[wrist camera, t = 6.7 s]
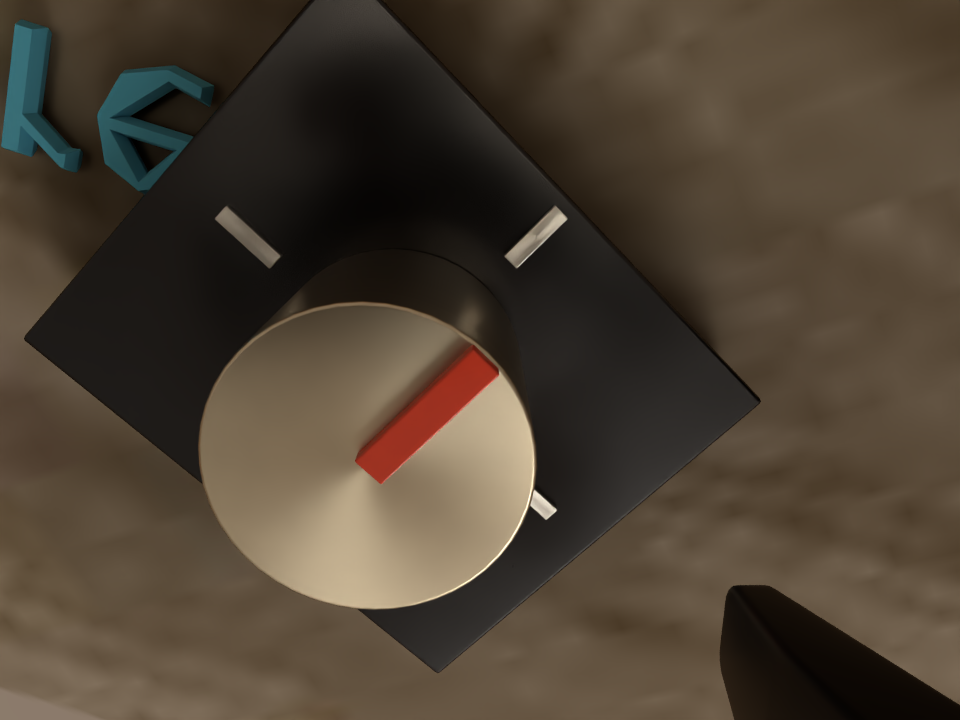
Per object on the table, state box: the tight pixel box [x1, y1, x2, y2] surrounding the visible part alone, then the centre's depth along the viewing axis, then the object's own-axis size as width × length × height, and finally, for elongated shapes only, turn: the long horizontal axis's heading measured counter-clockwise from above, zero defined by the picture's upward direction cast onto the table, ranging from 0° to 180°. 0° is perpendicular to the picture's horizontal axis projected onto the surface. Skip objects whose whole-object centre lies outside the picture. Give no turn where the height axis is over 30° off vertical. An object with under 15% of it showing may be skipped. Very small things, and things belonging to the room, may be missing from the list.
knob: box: [198, 249, 537, 610], centre depth 14 cm, size 5×5×5 cm
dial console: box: [24, 0, 761, 673], centre depth 17 cm, size 12×10×3 cm
